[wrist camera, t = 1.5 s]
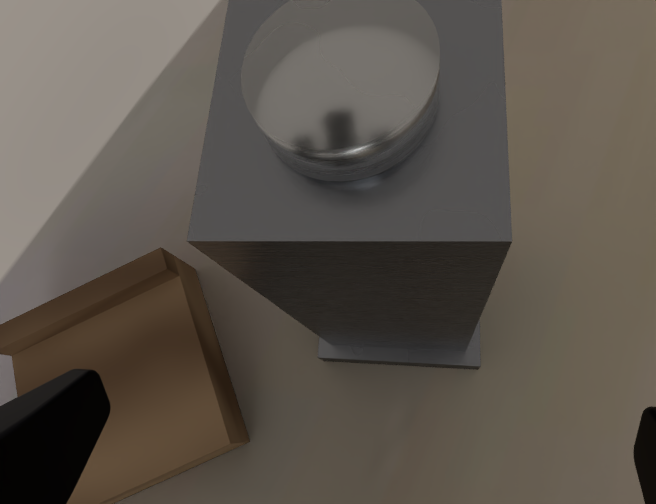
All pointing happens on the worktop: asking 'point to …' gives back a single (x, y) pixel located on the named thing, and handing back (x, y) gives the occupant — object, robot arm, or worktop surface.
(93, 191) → the worktop surface
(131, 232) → the worktop surface
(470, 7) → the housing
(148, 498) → the worktop surface
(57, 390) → the robot arm
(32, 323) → the square wooden tray
